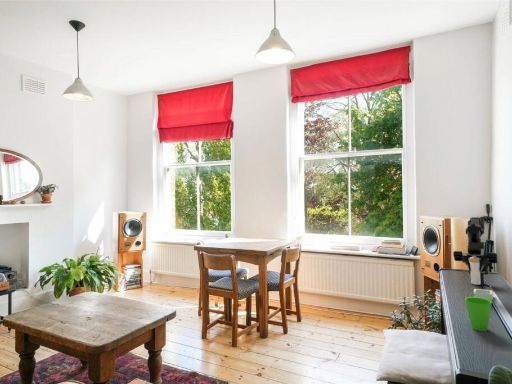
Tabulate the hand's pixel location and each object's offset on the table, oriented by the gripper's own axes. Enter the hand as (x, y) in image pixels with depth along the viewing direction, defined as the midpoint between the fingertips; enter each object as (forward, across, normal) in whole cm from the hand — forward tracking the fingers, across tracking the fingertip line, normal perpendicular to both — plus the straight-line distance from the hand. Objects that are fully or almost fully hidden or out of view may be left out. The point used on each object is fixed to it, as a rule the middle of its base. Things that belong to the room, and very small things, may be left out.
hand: (475, 270), depth 166 cm
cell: (+4, 0, +6) cm, 7 cm away
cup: (+40, +2, -21) cm, 45 cm away
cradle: (+8, +3, +11) cm, 14 cm away
